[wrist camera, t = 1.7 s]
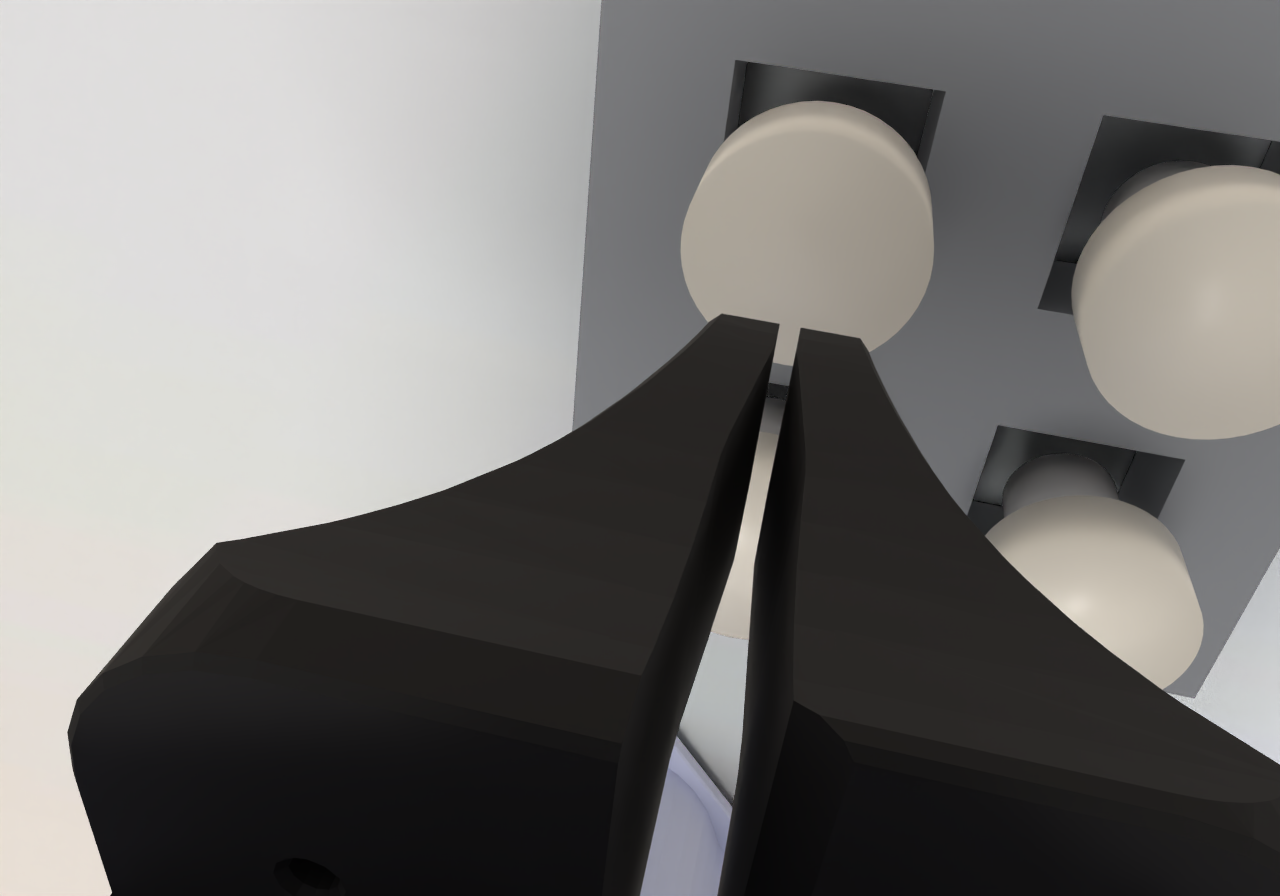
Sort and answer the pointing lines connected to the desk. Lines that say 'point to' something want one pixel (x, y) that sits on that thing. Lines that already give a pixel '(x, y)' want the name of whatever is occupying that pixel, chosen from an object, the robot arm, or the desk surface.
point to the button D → (1186, 300)
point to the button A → (750, 530)
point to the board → (949, 223)
